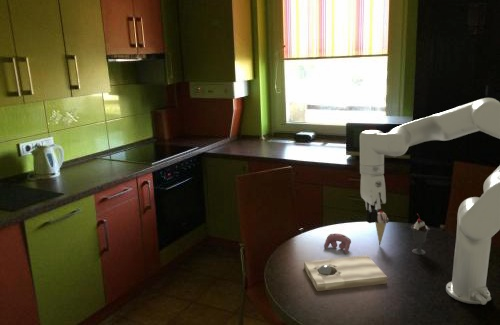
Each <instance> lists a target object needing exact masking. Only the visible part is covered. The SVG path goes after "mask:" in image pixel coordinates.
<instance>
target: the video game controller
mask: <svg viewBox="0 0 500 325" xmlns="http://www.w3.org/2000/svg"><path fill="white" fill-rule="evenodd" d="M338 242H339V244H338ZM351 244H352V241H351V238H350V237H348V236H347V235H345V234H341V233H330V234H328V235H327V237H326V240H325V242H324V245H323V247H324V250H327V249H328V248H329V246H330V245H331V248H333V249H334V248H337V247H338V248H339V249H340V250H344V254H348V253H349V250H350V246H351Z"/></svg>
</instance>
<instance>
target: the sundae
mask: <svg viewBox="0 0 500 325" xmlns="http://www.w3.org/2000/svg"><path fill="white" fill-rule="evenodd" d="M416 215H417V216H418V219H417V220H416V222H414V224H411V225H410V228H411V230H412V235H413V241H414V242H415V244H417V247H416V248H414V249H412V250H411V252H412V254H414V255H418V256H424V255H425V254H426V251H425V250H424V249H422V247H421V246H422V244H424V243H425V242H426V239H427V235H428V231H430V230H431V229H430V227H429V226H427V225H426V224H425V221H424V220H421V219H420V218H421V217H420V215H419V213H416Z"/></svg>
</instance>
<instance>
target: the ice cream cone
mask: <svg viewBox="0 0 500 325" xmlns="http://www.w3.org/2000/svg"><path fill="white" fill-rule="evenodd" d="M374 223H375V228H376V234H377V238H378V240H377V241H378V244H379V247H380V246H381V244H382V239H383V236H384V232H385V230H386V226H387V224H388V223H389V218H388V216H387V213H386V212H384V211H383V210H379V211H378V221H377V222H374Z"/></svg>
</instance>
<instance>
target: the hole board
mask: <svg viewBox="0 0 500 325" xmlns="http://www.w3.org/2000/svg"><path fill="white" fill-rule="evenodd" d="M323 265H327V266H329V267H330V268H331V270H332V274H331V275H328V276H327V275H323V274H320V273H319V268H320V267H321V266H323ZM303 269H304V270H305V272H306V274H307V275H308V277H309V279H310V280H311V283H312V285H313V286H314V288H315V290H316V291H317V292H321V291H322V292H323V291H329V290H340V289H349V288H357V287H358V288H359V287H367V286H375V285H382V284H387V282H388V276H387V275H386V274H385V273H384V271H383V270H382V269H381V268H380V267H379V266H378V265H377V264H376V263H375V262H374V261H373V260H372V258H370V256H369V255H367V254H365V255H357V256H356V255H355V256H346V257H337V258H336V257H335V258H327V259H326V258H325V259H318V260H306V261H304V262H303Z"/></svg>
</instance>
